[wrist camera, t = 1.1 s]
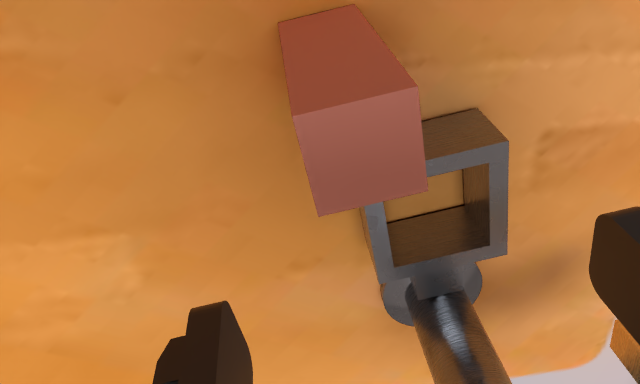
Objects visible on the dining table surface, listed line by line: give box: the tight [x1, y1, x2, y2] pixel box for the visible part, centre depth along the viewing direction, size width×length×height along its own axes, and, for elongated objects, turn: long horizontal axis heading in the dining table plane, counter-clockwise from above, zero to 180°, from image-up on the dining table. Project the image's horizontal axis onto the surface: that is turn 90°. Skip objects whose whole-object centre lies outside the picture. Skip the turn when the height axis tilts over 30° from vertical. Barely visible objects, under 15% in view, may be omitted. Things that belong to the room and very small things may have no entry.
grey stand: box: [359, 108, 640, 384], centre depth 23 cm, size 16×14×20 cm
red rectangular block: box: [278, 4, 428, 217], centre depth 20 cm, size 4×4×11 cm
